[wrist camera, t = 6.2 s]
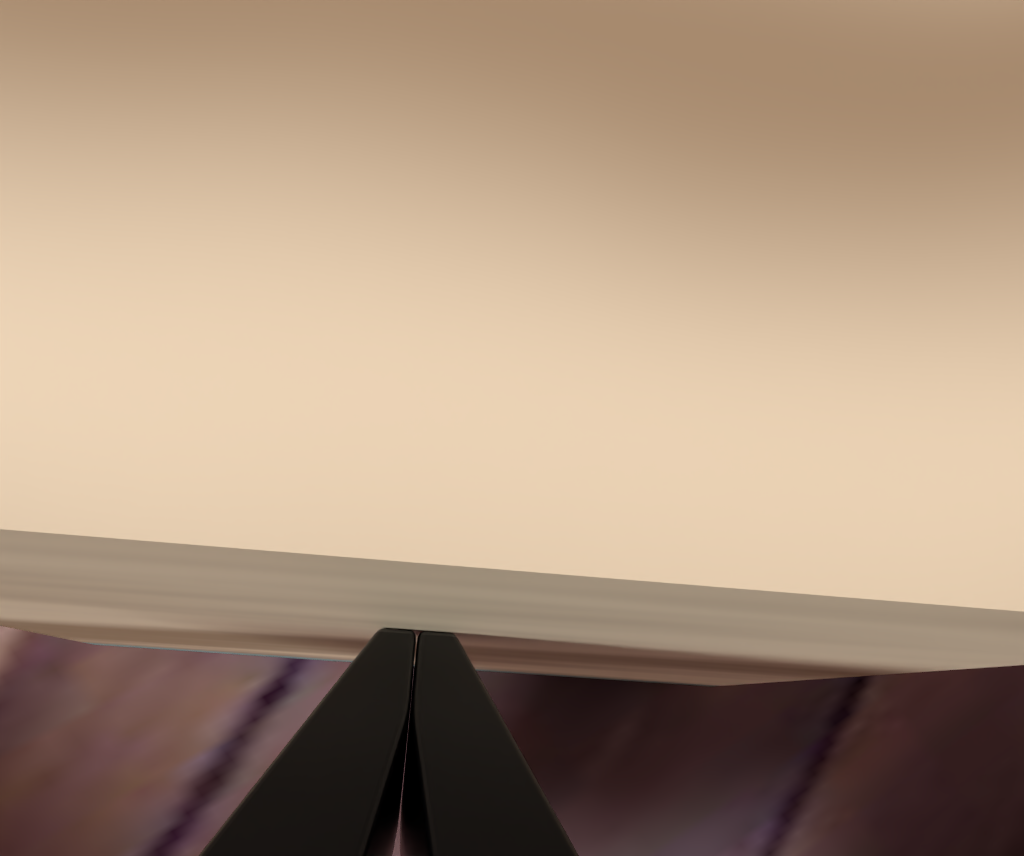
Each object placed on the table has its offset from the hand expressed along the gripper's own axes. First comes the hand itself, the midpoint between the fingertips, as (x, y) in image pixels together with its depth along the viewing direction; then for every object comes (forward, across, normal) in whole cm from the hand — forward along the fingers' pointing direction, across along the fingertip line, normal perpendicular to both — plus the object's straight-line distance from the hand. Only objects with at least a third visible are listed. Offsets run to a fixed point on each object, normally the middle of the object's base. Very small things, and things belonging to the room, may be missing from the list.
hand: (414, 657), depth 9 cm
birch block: (+7, 0, -4) cm, 8 cm away
